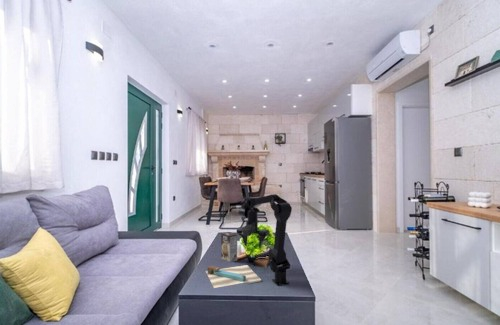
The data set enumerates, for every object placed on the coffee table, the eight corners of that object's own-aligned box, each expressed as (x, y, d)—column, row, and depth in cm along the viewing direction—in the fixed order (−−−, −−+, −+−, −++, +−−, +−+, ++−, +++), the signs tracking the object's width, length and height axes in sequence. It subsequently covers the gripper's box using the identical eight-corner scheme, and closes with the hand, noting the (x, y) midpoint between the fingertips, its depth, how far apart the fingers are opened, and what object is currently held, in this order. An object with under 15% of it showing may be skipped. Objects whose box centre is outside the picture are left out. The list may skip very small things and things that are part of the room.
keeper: (219, 274, 135) (219, 267, 135) (216, 276, 133) (216, 269, 133) (210, 271, 138) (210, 265, 138) (207, 273, 136) (207, 267, 136)
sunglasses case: (267, 267, 145) (261, 256, 147) (257, 272, 147) (251, 262, 148) (274, 257, 162) (269, 247, 164) (265, 261, 164) (260, 252, 165)
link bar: (246, 279, 128) (246, 275, 128) (243, 281, 126) (243, 277, 126) (217, 272, 137) (217, 268, 137) (213, 274, 135) (213, 270, 135)
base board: (261, 281, 128) (261, 279, 128) (214, 289, 120) (214, 287, 120) (247, 266, 148) (247, 265, 148) (205, 272, 139) (205, 271, 139)
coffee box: (220, 259, 160) (220, 233, 161) (229, 256, 165) (228, 231, 165) (229, 262, 153) (229, 235, 154) (237, 260, 158) (237, 234, 158)
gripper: (231, 220, 143) (231, 248, 143) (260, 223, 134) (261, 253, 134) (241, 216, 153) (241, 243, 153) (269, 219, 144) (270, 247, 144)
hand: (252, 246), depth 146 cm, fingers open, 9 cm apart
